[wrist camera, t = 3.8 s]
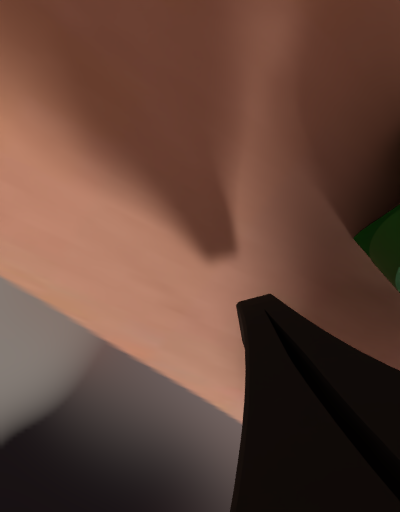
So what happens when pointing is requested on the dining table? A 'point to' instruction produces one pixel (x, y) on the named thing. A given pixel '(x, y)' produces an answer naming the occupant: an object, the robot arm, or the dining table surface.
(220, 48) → the dining table surface
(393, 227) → the clamp
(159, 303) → the dining table surface
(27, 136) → the dining table surface
